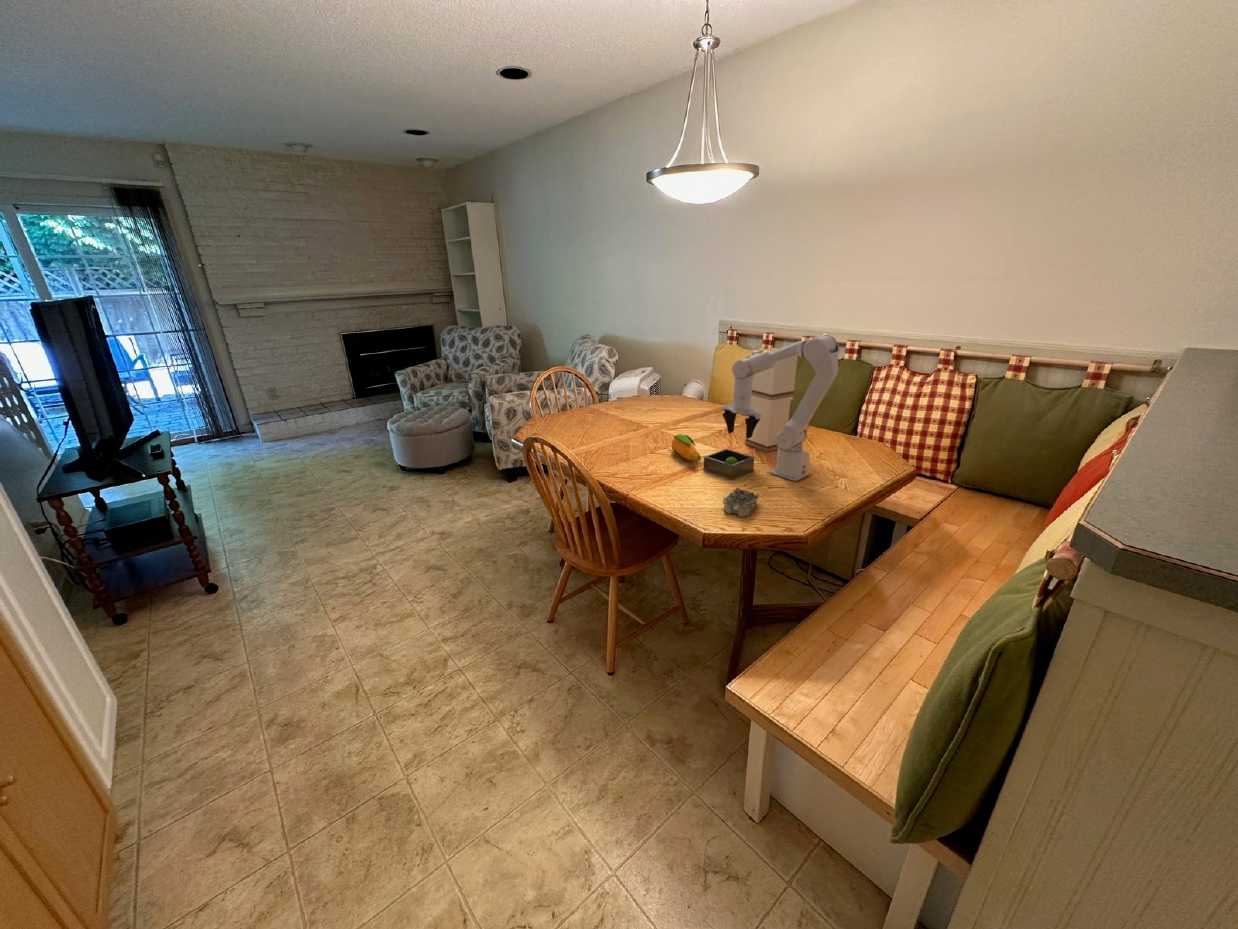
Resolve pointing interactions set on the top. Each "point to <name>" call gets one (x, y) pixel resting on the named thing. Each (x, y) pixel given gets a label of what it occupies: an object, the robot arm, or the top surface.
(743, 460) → the dark grey open box
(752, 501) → the gray rock
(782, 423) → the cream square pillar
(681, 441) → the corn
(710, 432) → the top surface
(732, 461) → the pea
